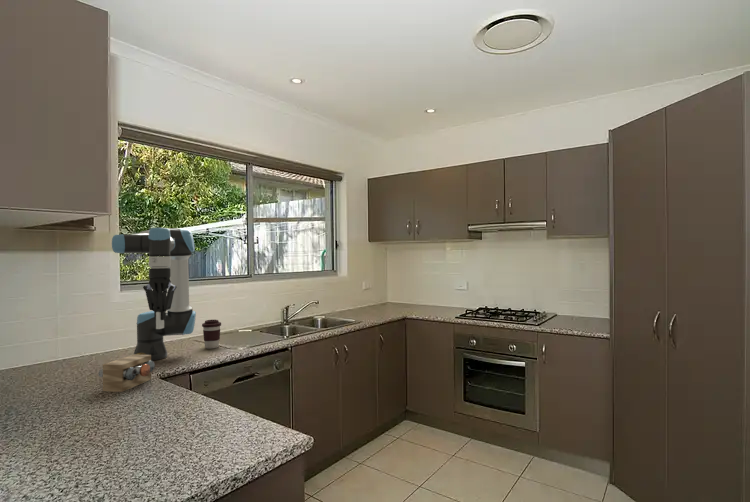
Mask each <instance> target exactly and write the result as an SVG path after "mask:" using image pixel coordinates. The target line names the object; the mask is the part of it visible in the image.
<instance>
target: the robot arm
mask: <svg viewBox="0 0 750 502" xmlns="http://www.w3.org/2000/svg"><path fill="white" fill-rule="evenodd" d="M194 240H195V239H194V236H193V233H192V230H190V229H187V228H166V227H151V228H149V229H148V230H142V231H140V232H138V233H132V234H131V233H130V234H129V233H127V234H123V233H121V234H114V235H113V236H112V238H111V249H112V251H113V252H114V253H115V254H148V267H149V269H148V278H149V281H148V283H147V284H146V285H143V286H142V288H143V290H144V293H145V296H146V300H147V304H148V305H147V306H148V309H149V311H145V312H142V313H139V314H138V315H137V318H136V346H135V348H134V352H133V354H132V355H135V354H137V353H145V354H147V355H151V361H157V360H161V359H165V358H167V357H168V350H167V347H166V345H165V341H164V337H166V336H168V337H169V336H170V337H171V336H181V335H182V336H184V335H185V336H186V335H191V334H192V333H193V331H194V329H195V325H196V323H195V322H196V316H197V315H196V314H197V312H196V311H195V310H193V307H192V306H191V305H190V285H189V283H190V276H189V259H190V257H191V256H192V253H193V252H195V241H194Z"/></svg>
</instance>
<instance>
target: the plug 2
mask: <svg viewBox="0 0 750 502" xmlns="http://www.w3.org/2000/svg"><path fill="white" fill-rule="evenodd" d="M143 364H148V365H149V366H150V372H151V373H152V372H153V371H154V369H155V362H154V360H152V361H147V362H146V363H143ZM150 372H149V373H150Z"/></svg>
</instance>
